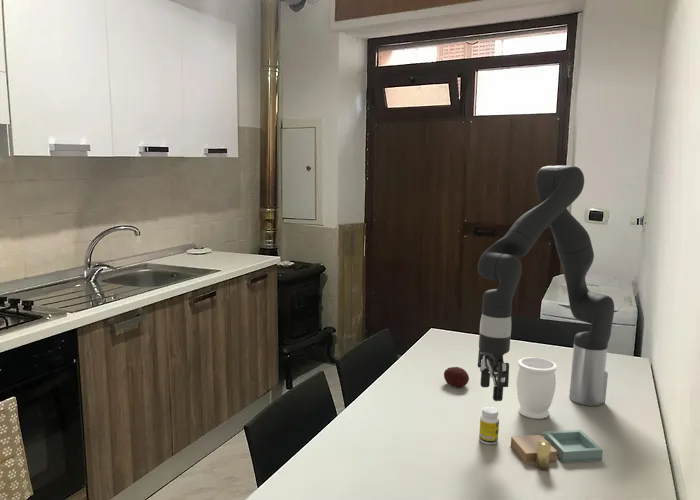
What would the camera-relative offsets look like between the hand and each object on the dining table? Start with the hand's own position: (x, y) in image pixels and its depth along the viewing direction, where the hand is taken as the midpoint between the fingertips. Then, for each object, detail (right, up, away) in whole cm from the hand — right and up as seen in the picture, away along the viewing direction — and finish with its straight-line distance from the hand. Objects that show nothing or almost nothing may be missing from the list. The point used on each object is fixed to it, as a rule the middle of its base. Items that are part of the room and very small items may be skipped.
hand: (490, 393), depth 140 cm
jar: (+17, -11, +18) cm, 27 cm away
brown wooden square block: (+9, -14, -4) cm, 18 cm away
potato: (-2, -7, +37) cm, 38 cm away
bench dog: (+10, -15, -10) cm, 20 cm away
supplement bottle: (0, -13, +2) cm, 13 cm away
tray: (+20, -14, -2) cm, 24 cm away
